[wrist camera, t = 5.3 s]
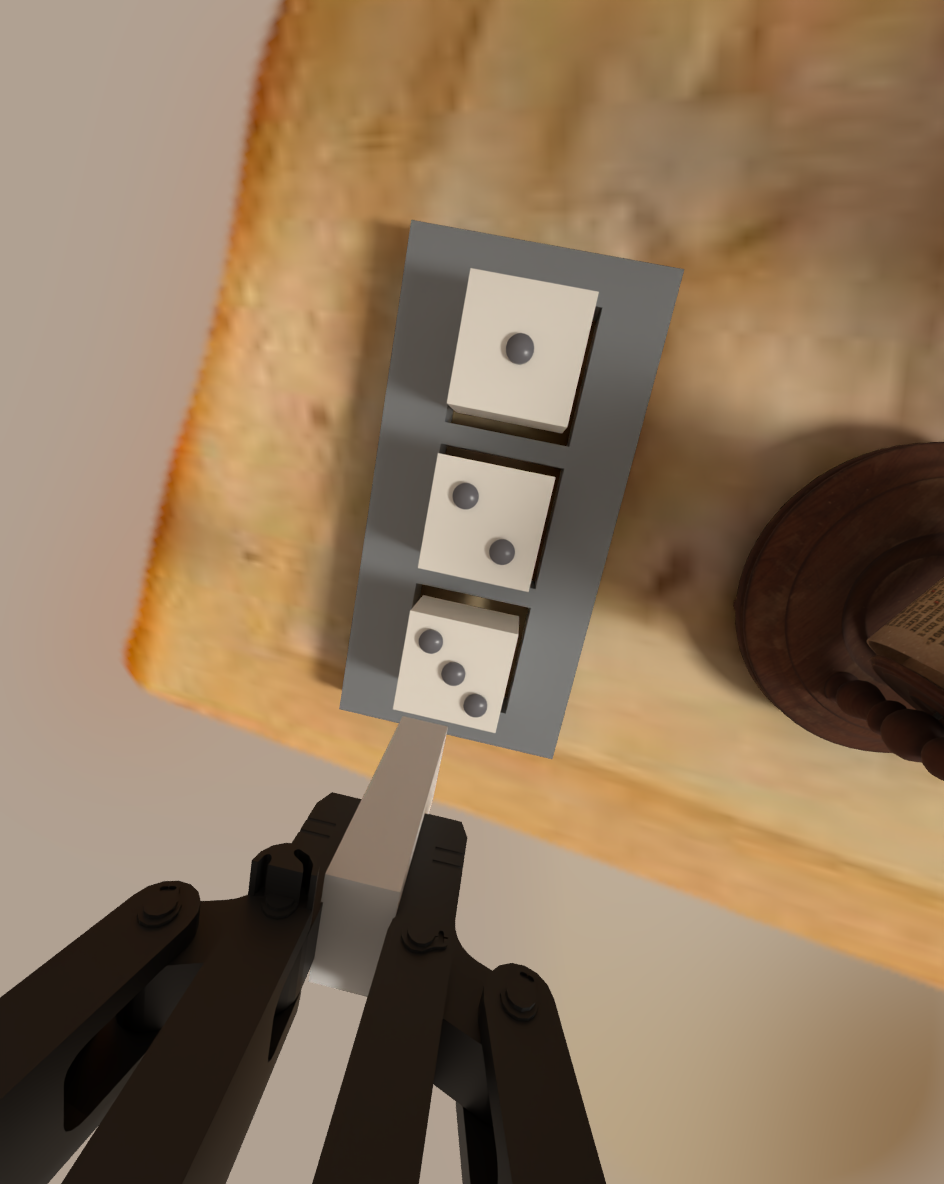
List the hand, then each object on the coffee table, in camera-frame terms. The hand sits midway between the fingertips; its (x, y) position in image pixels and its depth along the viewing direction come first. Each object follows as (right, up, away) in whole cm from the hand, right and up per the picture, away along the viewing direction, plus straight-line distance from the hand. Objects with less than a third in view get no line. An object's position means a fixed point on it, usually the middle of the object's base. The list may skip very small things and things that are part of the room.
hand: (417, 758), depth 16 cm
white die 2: (+3, +9, +8) cm, 12 cm away
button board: (+3, +9, +10) cm, 14 cm away
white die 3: (+1, +2, +10) cm, 10 cm away
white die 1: (+4, +16, +6) cm, 17 cm away
